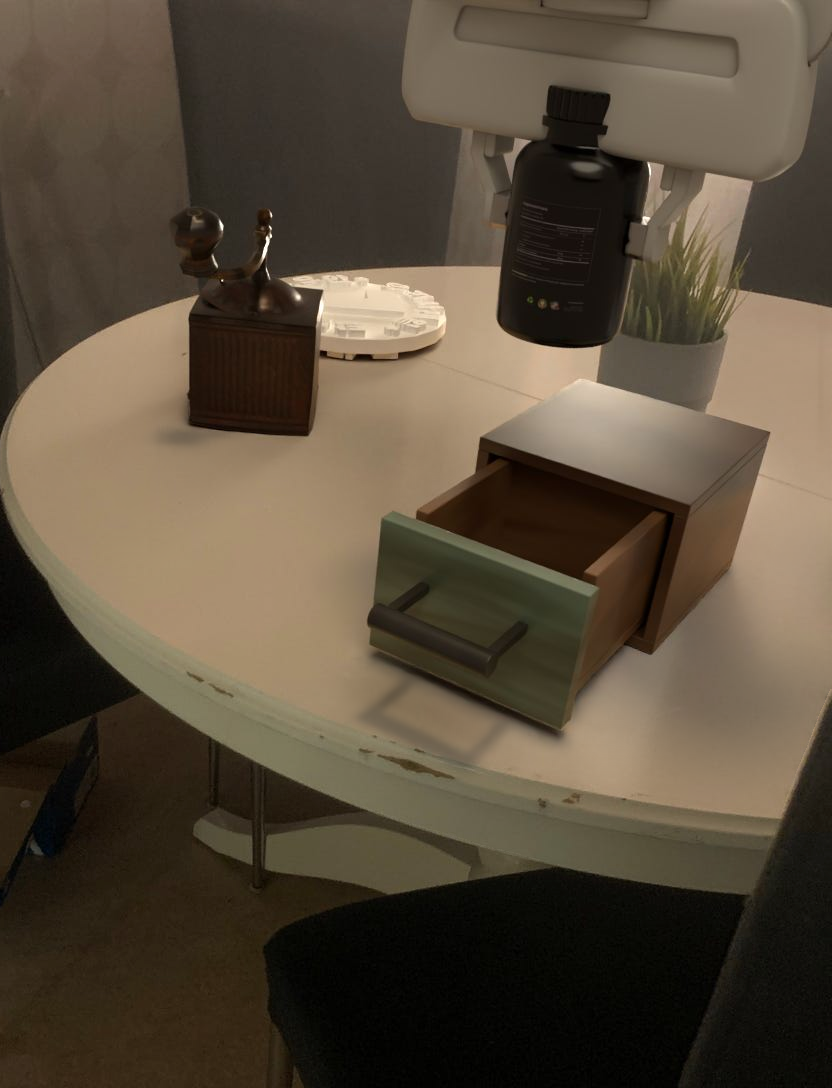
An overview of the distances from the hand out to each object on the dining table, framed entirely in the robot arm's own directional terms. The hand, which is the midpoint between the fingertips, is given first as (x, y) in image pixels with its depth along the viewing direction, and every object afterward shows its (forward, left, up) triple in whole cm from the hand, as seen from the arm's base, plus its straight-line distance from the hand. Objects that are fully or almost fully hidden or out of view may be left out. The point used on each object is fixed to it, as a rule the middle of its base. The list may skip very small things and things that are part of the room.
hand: (569, 242), depth 58 cm
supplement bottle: (0, 0, -5) cm, 5 cm away
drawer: (-2, +5, -22) cm, 23 cm away
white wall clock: (+40, -39, -23) cm, 61 cm away
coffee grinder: (+32, -13, -23) cm, 41 cm away
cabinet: (-2, -9, -23) cm, 25 cm away
